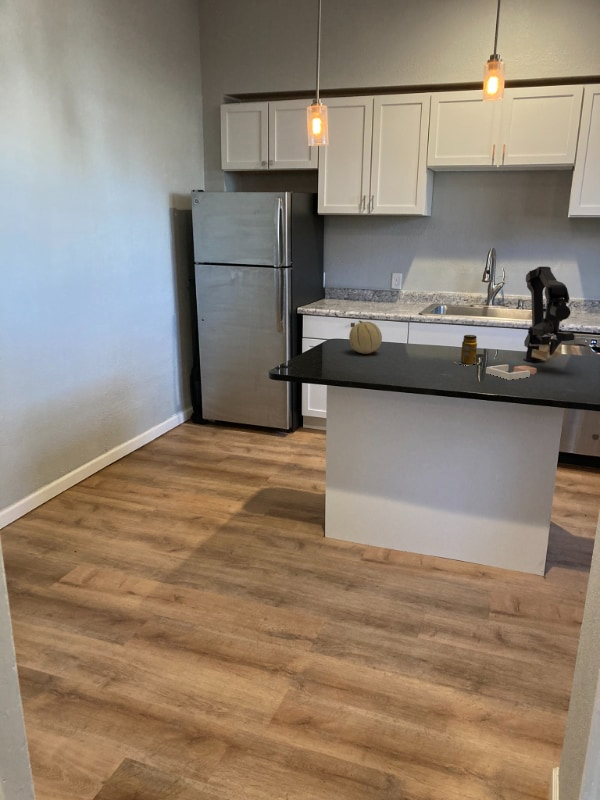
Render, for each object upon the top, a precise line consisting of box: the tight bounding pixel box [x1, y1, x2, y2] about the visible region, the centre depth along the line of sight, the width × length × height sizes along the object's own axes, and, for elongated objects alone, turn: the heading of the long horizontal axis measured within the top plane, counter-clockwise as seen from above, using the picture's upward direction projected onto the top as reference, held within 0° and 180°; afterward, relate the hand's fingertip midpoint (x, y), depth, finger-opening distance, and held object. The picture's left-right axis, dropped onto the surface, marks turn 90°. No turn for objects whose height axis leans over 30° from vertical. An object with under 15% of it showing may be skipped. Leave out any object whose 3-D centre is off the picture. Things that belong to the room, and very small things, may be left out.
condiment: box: [453, 334, 480, 367], centre depth 257 cm, size 7×8×12 cm
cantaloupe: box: [348, 320, 383, 355], centre depth 276 cm, size 15×15×15 cm
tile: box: [513, 365, 537, 375], centre depth 243 cm, size 6×6×2 cm
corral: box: [485, 364, 530, 381], centre depth 239 cm, size 11×12×2 cm
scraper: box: [531, 343, 563, 361], centre depth 247 cm, size 11×7×5 cm, turn 117°
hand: (548, 354), depth 247 cm, fingers closed on scraper, 2 cm apart
